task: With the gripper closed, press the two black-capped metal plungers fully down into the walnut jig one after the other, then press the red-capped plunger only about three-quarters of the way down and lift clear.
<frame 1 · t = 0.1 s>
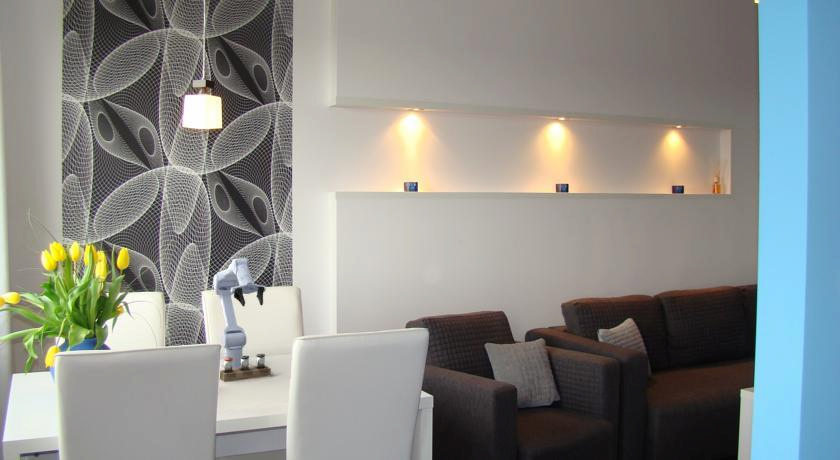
hand: (253, 304, 301), 32 cm above the table, tool tilted 50°, fingers open, 7 cm apart
jig: (245, 376, 309), on the table
plunger a: (260, 361, 313), point 6 cm above the table, slide at 0.0 cm
plunger b: (244, 363, 309), point 6 cm above the table, slide at 0.0 cm
plunger red: (228, 364, 306), point 6 cm above the table, slide at 0.0 cm
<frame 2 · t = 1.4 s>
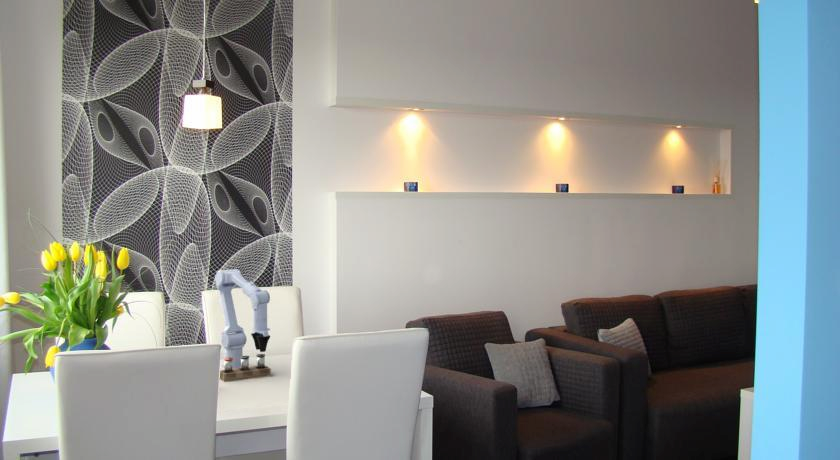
hand: (260, 350, 313), 10 cm above the table, tool pointing down, fingers open, 5 cm apart
nothing on the table moved.
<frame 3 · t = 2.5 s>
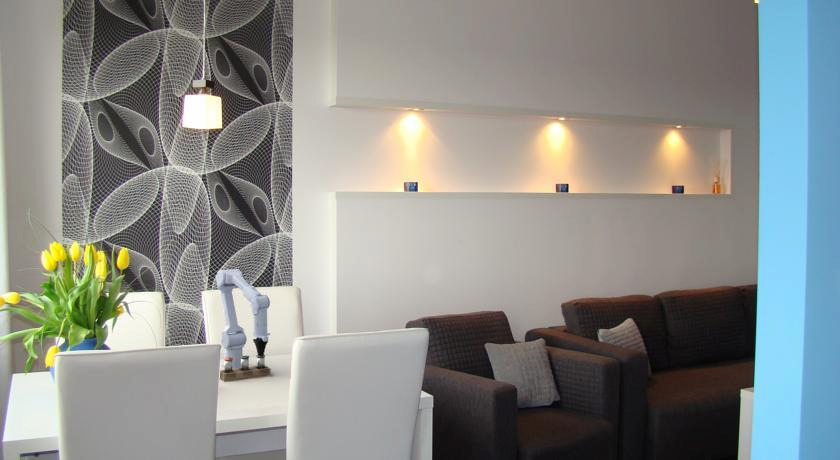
hand: (260, 355, 313), 8 cm above the table, tool pointing down, fingers closed, pressing on plunger a
plunger a: (260, 361, 313), point 6 cm above the table, slide at 0.3 cm, touching gripper
everything else where it was.
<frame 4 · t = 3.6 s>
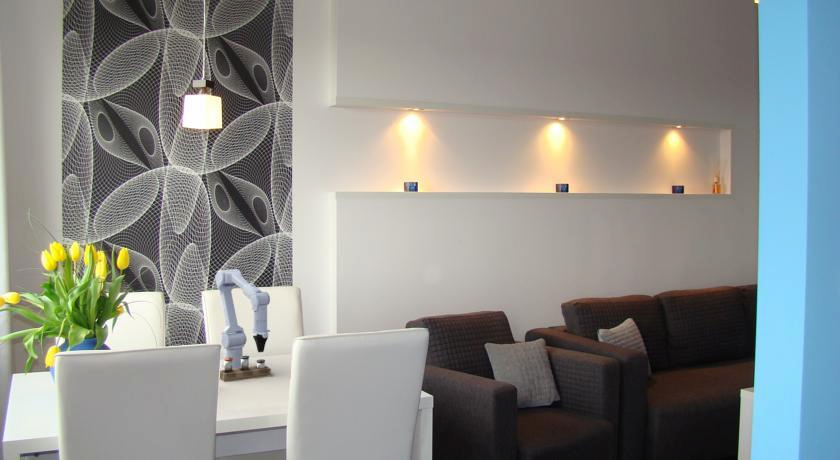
hand: (260, 351, 313), 10 cm above the table, tool pointing down, fingers closed
plunger a: (260, 366, 313), point 3 cm above the table, slide at 2.4 cm
everything else where it was.
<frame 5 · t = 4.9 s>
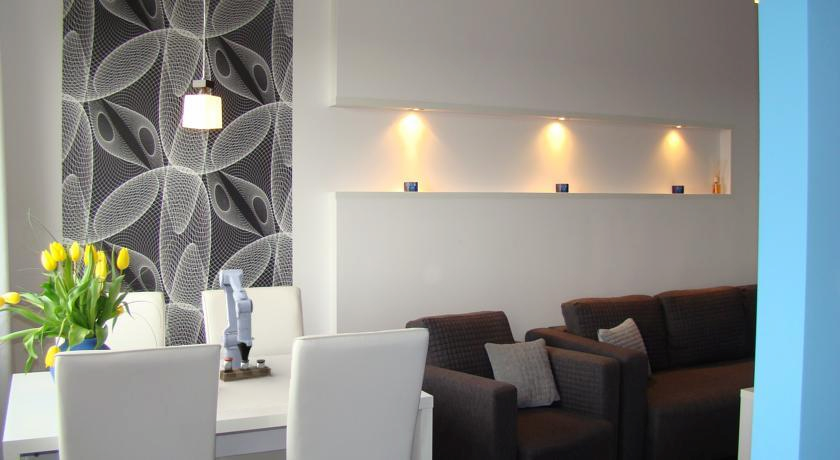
hand: (244, 360, 309), 7 cm above the table, tool pointing down, fingers closed, pressing on plunger b
plunger b: (244, 366, 309), point 4 cm above the table, slide at 1.5 cm, touching gripper
everything else where it was.
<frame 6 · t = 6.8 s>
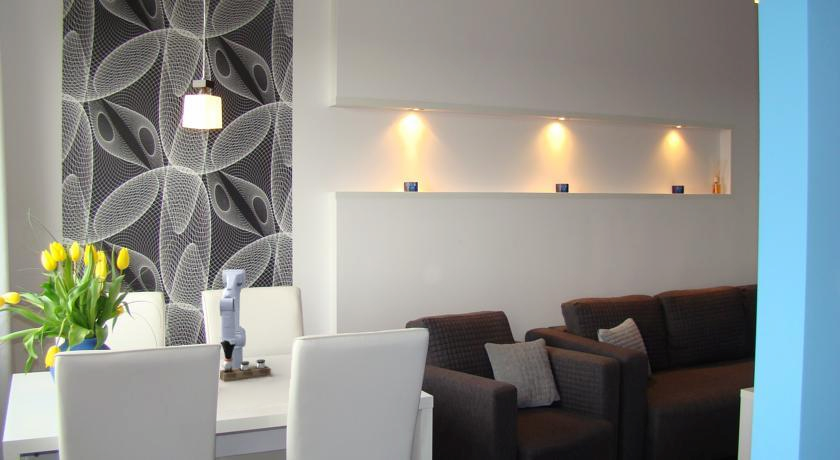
hand: (228, 358, 306), 8 cm above the table, tool pointing down, fingers closed, pressing on plunger red
plunger b: (244, 368, 309), point 3 cm above the table, slide at 2.4 cm
plunger red: (228, 365, 306), point 6 cm above the table, slide at 0.1 cm, touching gripper
everything else where it was.
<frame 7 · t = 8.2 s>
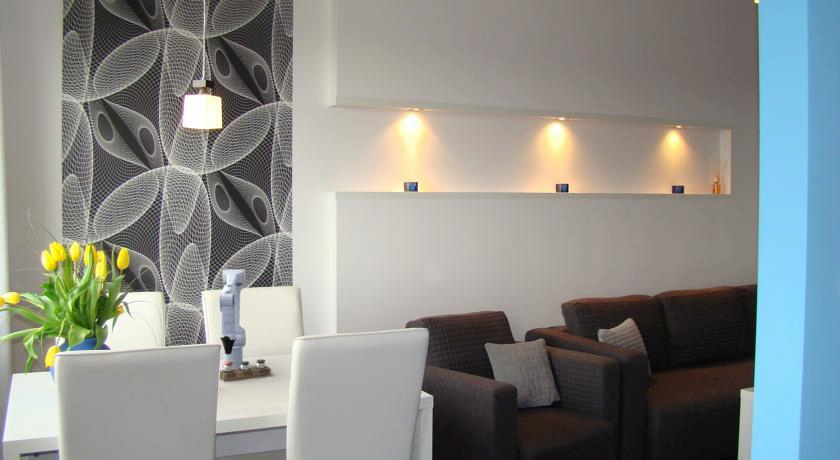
hand: (228, 354, 306), 10 cm above the table, tool pointing down, fingers closed
plunger red: (228, 369, 306), point 4 cm above the table, slide at 1.8 cm
everything else where it was.
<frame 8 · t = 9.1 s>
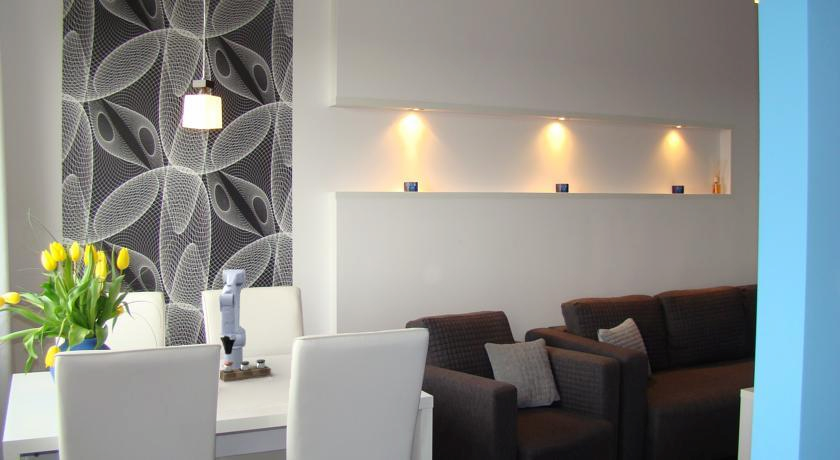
hand: (228, 354, 306), 10 cm above the table, tool pointing down, fingers closed
nothing on the table moved.
at the end: plunger a slide at 2.4 cm; plunger b slide at 2.4 cm; plunger red slide at 1.8 cm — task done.
